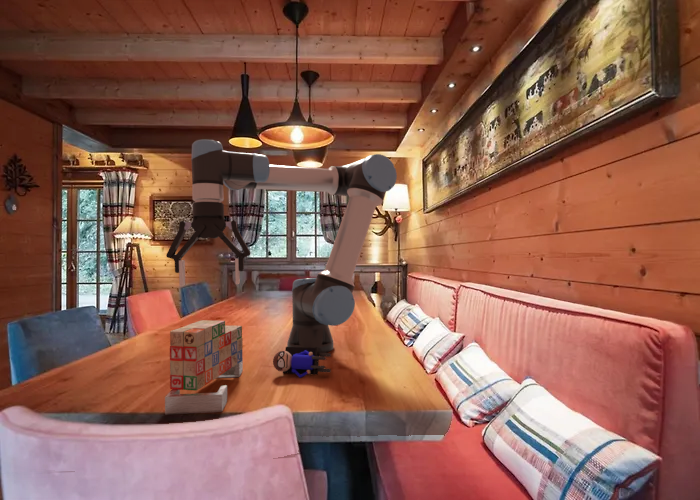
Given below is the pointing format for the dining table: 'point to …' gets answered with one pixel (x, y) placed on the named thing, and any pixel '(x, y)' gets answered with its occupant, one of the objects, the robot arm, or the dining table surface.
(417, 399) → the dining table surface
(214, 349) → the stack of blocks
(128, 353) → the dining table surface
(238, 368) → the grey piece
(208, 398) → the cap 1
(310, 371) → the character figurine
